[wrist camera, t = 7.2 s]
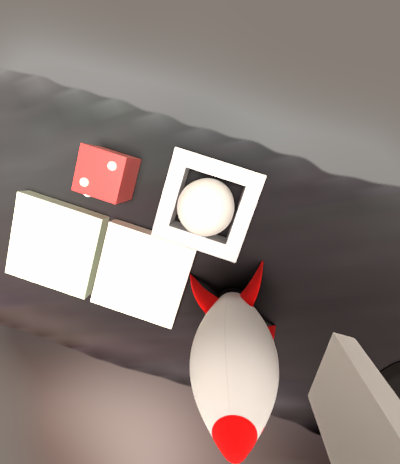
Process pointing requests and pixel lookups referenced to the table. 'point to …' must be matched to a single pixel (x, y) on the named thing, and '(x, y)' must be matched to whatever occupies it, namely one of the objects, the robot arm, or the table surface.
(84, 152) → the red die
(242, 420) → the rocket
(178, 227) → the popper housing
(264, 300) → the table surface
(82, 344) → the table surface
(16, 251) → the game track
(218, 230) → the dome
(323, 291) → the table surface
